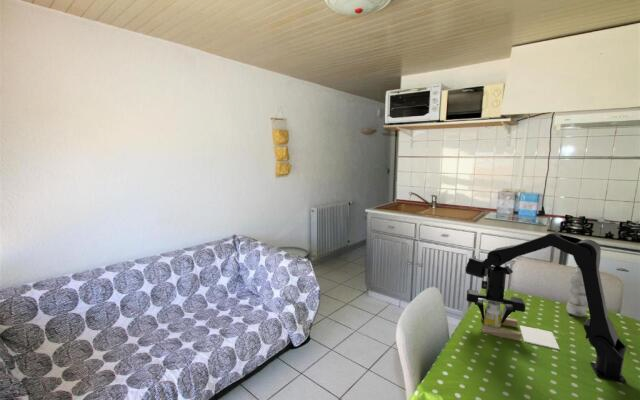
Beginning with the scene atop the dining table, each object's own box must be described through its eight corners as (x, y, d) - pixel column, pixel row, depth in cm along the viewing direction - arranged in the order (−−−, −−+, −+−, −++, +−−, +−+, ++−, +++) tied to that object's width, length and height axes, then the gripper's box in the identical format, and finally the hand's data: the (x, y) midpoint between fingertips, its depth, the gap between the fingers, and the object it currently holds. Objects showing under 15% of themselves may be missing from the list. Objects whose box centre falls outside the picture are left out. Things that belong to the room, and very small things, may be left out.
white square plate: (559, 349, 102) (559, 348, 102) (524, 341, 106) (524, 340, 106) (551, 332, 112) (551, 331, 112) (519, 326, 116) (519, 325, 116)
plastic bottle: (562, 312, 126) (567, 266, 123) (571, 309, 129) (577, 264, 126) (580, 320, 120) (587, 272, 117) (589, 316, 123) (596, 269, 120)
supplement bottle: (496, 323, 118) (498, 300, 116) (503, 331, 112) (505, 307, 111) (481, 323, 118) (483, 299, 117) (487, 331, 113) (489, 306, 111)
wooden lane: (520, 341, 107) (521, 334, 106) (482, 332, 112) (482, 326, 112) (516, 325, 116) (517, 319, 116) (481, 318, 122) (481, 312, 121)
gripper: (522, 278, 116) (518, 316, 118) (468, 270, 124) (465, 306, 126) (527, 290, 106) (523, 331, 108) (468, 280, 114) (465, 319, 116)
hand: (492, 321), depth 115 cm, fingers open, 6 cm apart
